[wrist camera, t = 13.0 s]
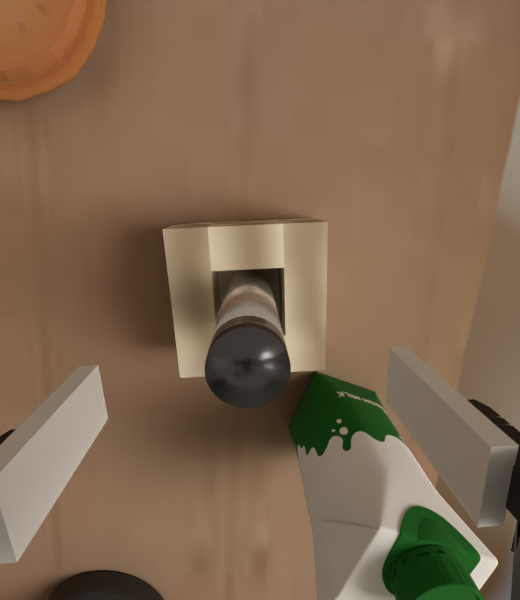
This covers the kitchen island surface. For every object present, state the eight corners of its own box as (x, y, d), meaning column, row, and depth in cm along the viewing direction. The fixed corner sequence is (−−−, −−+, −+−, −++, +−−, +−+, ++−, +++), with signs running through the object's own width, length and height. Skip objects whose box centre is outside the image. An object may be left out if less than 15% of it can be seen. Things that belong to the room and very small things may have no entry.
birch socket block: (191, 347, 34) (180, 377, 28) (178, 223, 30) (162, 229, 25) (312, 341, 34) (325, 370, 28) (312, 217, 31) (327, 221, 25)
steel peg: (228, 310, 32) (208, 410, 16) (225, 267, 31) (200, 331, 15) (271, 308, 32) (291, 405, 16) (270, 265, 31) (290, 327, 15)
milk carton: (386, 386, 36) (547, 601, 17) (349, 454, 38) (453, 712, 19) (310, 360, 35) (389, 558, 15) (276, 432, 37) (308, 682, 18)
